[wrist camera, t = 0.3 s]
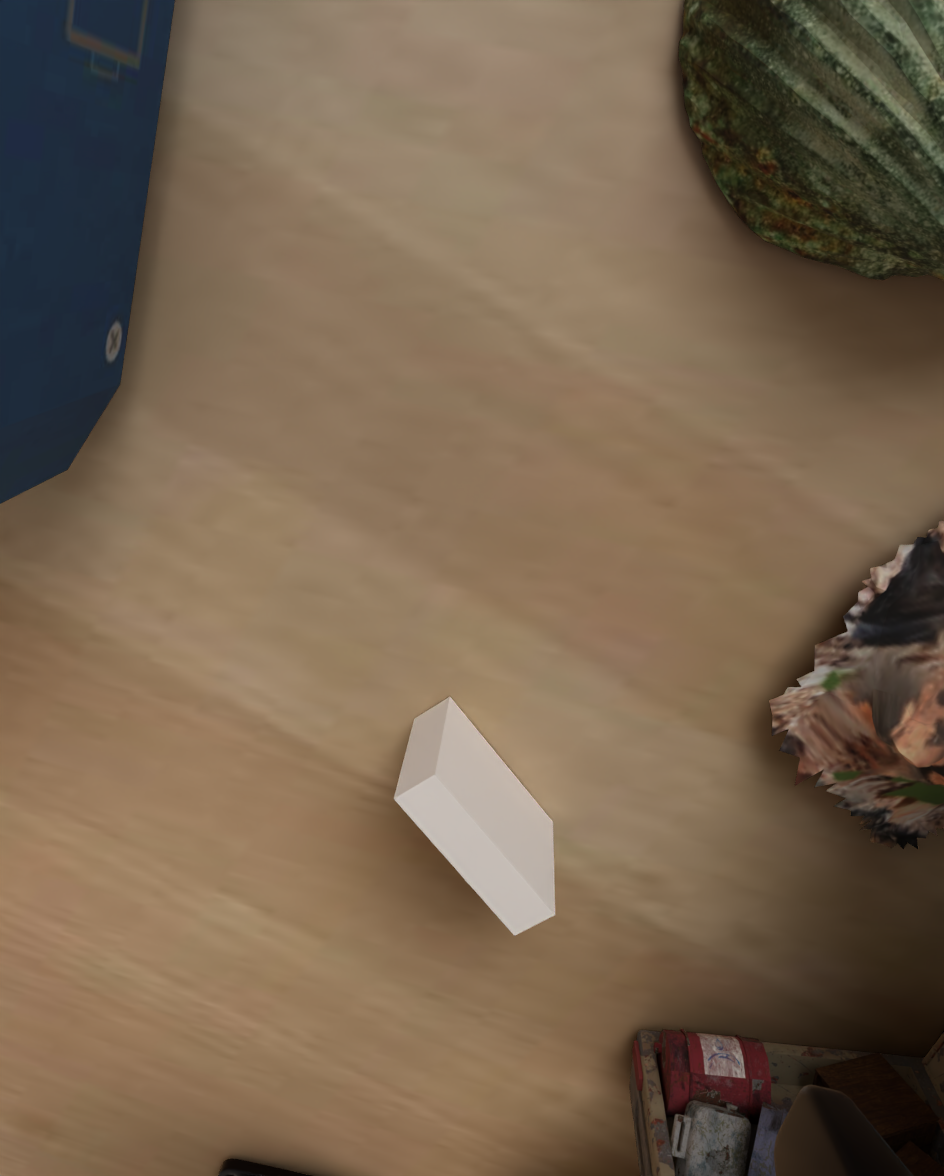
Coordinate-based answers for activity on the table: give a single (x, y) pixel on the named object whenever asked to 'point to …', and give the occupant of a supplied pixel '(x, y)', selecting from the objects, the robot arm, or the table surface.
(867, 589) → the plant with pod
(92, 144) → the radio
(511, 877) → the eraser
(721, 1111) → the toy vehicle
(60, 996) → the table surface
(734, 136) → the seashell
